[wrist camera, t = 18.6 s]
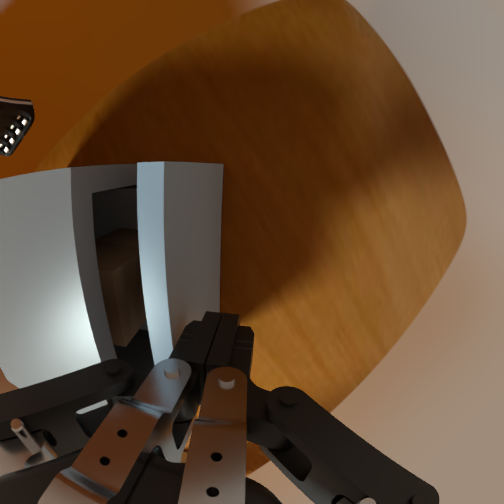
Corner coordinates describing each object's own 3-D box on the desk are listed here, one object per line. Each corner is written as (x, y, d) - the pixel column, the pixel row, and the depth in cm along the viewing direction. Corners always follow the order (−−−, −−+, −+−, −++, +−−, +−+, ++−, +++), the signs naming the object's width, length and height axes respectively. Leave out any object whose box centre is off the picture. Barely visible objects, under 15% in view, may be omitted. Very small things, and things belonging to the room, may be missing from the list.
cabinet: (188, 331, 23) (134, 442, 11) (81, 310, 23) (7, 380, 12) (185, 163, 18) (70, 167, 7) (65, 170, 19) (-46, 191, 8)
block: (172, 286, 20) (125, 347, 13) (124, 280, 21) (67, 330, 13) (170, 231, 19) (112, 271, 11) (119, 227, 19) (51, 261, 12)
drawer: (219, 337, 22) (188, 437, 12) (103, 317, 23) (40, 384, 13) (223, 164, 18) (164, 161, 8) (88, 168, 19) (-13, 182, 9)
